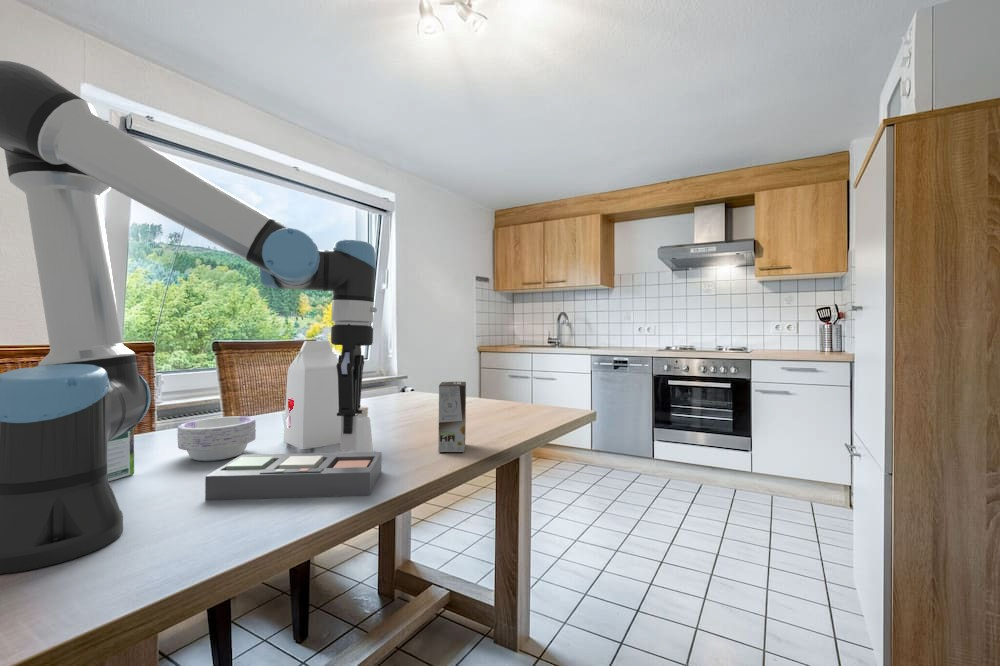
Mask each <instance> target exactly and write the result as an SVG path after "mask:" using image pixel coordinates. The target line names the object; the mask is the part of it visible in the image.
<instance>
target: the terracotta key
mask: <svg viewBox="0 0 1000 666" xmlns="http://www.w3.org/2000/svg"><path fill="white" fill-rule="evenodd" d="M370 464H371V460H351V461H338V462H337V464H336V465H335V466H334V467H333V468H354V467H369V466H370Z"/></svg>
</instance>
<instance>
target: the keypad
mask: <svg viewBox="0 0 1000 666" xmlns="http://www.w3.org/2000/svg"><path fill="white" fill-rule="evenodd" d="M290 456H323V463H322V464H321V465H320V466H319V467H318V468H301V469H279V465H280V464H281V463H283V462H284V461H285V460H287V459H288V458H289V457H290ZM241 457H274V463H272V464H271V465H270V466H268V467H267V468H266V469H263V470H226V466H227V465H229V464H231V463H232V462H234V461H236V460H237V459H239V458H241ZM351 460H371V464H370V466H369V467H354V468H333V467H334V466H335V465H336V464H337V462H338V461H351ZM381 473H382V451H373V452H353V453H350V452H312V453H311V452H310V453H308V452H307V453H306V452H305V453H300V452H299V453H256V454H255V453H254V454H253V453H252V454H240V455H238V456H236V458H235V457H234V458H233V459H232V460H231V461H229V462H227V463H225V464H224V465H222V466H220V467H219V468H217V469H214V470H213V471H212V472H210V473H208V474H206V475H205V477H204V478H205V480H204V481H205V482H204V483H205V485H204V486H205V487H204V488H205V489H204V490H205V491H204V493H205V494H204V499H205V501H214V500H215V501H217V500H218V501H220V500H251V499H253V500H254V499H255V500H256V499H259V500H260V499H285V498H287V499H290V498H291V499H292V498H322V497H324V498H325V497H357V496H358V497H359V496H360V497H361V496H362V497H363V496H370V495H371V494H372V492H373V489H374V487H375V486H376V484H377V482H378V479H379V477H380V475H381Z"/></svg>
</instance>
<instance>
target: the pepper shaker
mask: <svg viewBox="0 0 1000 666" xmlns="http://www.w3.org/2000/svg"><path fill="white" fill-rule="evenodd" d="M359 410H362V414H355V415H358V427H357V449H356V451H349V453H353V452H374V448H373V447H374V446H373V436H372V435H373V434H372V425H371V418H370V416H368V414H369V407H368V406H364V405H362V406H360V409H359Z"/></svg>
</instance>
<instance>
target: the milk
mask: <svg viewBox="0 0 1000 666" xmlns="http://www.w3.org/2000/svg"><path fill="white" fill-rule="evenodd" d="M331 345H332V344H331V342H330V341H329V340H304V342H303V344H302V346H301V348H300V349H299V352H298V353H297V355H296V356H295V358H294V359H293V360H292V362H291V363H290V365H289V367H288V369H287V374H286V376H287V377H286V389H285V390H286V394H285V407H284V408H285V409H284V421H285V420H286V419H287V417H288V415H290V416H291V427H290V428H289V429H288V428H287V426H286V423H285V422H284V426H283V427H284V429H283V442H284V443H286V444H288V445H291V446H293V447H296V448H297V449H300V450H308V449H315V448H319V447H320V448H321V447H324V446H325V447H326V446H331V445H338V444H341V416H337V413H338V410H339V398H338V373H337V367H336V366H337V363H338V360H339V357H337V356H336V354H335V352H334V351H333V348H332V346H331ZM290 398H293V399H294V406H293V409H292V410H291V411H290V413H288V412H289V410H290V408H289V410H288V399H290Z"/></svg>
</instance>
